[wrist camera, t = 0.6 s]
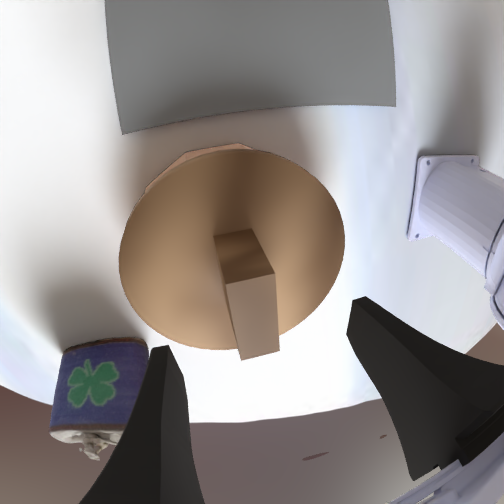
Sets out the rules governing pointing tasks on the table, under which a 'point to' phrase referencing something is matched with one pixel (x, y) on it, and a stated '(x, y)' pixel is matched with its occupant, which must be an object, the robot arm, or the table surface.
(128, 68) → the mat
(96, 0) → the table surface
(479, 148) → the table surface
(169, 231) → the lid
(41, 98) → the table surface
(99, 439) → the flask
